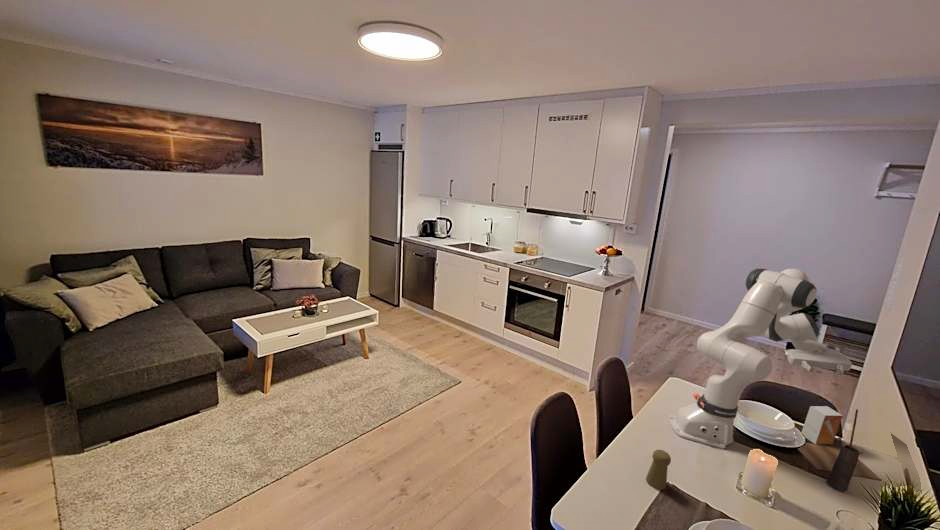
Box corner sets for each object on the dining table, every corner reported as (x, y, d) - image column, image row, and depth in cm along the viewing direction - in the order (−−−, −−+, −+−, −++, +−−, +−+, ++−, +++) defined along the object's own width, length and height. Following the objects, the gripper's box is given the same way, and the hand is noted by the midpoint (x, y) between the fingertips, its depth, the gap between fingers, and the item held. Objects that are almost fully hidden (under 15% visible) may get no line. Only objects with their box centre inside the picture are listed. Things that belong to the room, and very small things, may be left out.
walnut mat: (816, 469, 140) (817, 468, 140) (790, 441, 155) (790, 440, 155) (880, 480, 137) (881, 479, 137) (847, 450, 152) (847, 449, 152)
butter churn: (867, 498, 128) (896, 423, 122) (843, 500, 127) (871, 424, 120) (838, 477, 137) (863, 405, 130) (815, 478, 136) (839, 406, 129)
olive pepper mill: (667, 492, 124) (674, 462, 121) (646, 485, 126) (653, 456, 123) (665, 479, 130) (672, 450, 127) (645, 472, 131) (651, 444, 129)
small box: (815, 445, 154) (825, 415, 151) (800, 434, 160) (809, 405, 157) (833, 444, 155) (843, 415, 152) (817, 433, 161) (827, 405, 158)
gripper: (783, 342, 172) (795, 361, 160) (843, 348, 165) (860, 368, 153) (781, 355, 175) (792, 374, 163) (839, 361, 168) (856, 381, 156)
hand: (826, 371), depth 158 cm, fingers open, 8 cm apart
